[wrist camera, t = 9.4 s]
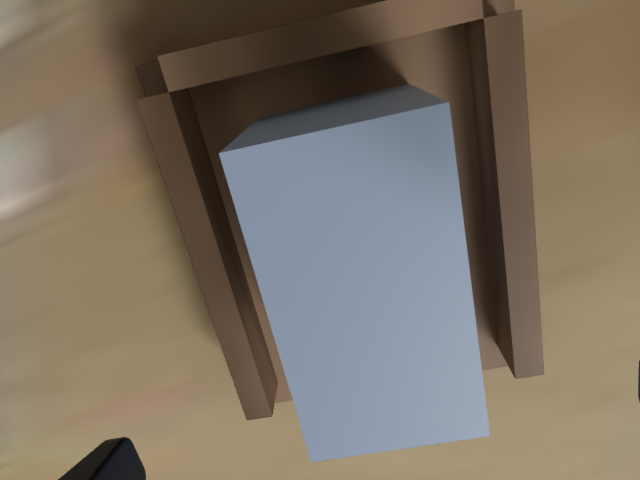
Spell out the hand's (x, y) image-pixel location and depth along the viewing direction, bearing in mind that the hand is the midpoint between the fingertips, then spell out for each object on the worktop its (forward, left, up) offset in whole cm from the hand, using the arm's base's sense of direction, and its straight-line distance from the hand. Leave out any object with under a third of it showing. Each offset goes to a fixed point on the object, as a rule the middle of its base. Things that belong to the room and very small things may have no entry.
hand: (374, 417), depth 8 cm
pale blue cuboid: (0, 0, -10) cm, 10 cm away
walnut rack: (0, 0, -11) cm, 11 cm away
